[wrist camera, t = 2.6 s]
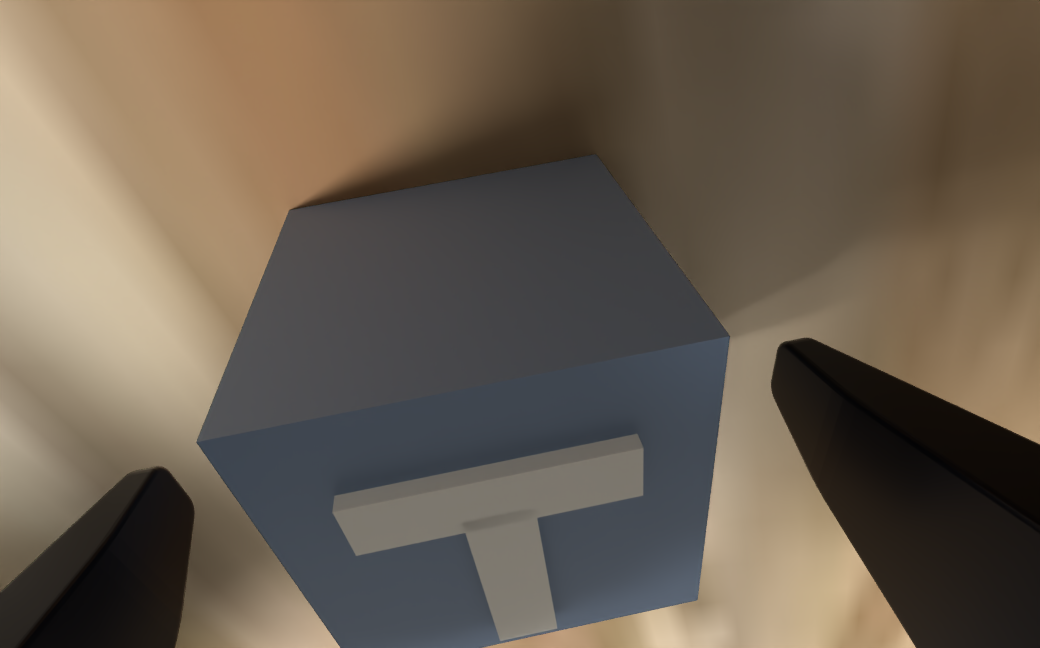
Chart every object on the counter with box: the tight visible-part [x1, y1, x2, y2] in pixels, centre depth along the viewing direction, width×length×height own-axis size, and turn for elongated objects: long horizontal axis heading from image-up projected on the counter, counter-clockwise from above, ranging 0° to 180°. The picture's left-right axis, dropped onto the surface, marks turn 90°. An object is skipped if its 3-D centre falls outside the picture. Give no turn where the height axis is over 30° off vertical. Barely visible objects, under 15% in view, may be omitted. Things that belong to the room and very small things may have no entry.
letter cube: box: [197, 154, 730, 648], centre depth 9 cm, size 5×5×5 cm
